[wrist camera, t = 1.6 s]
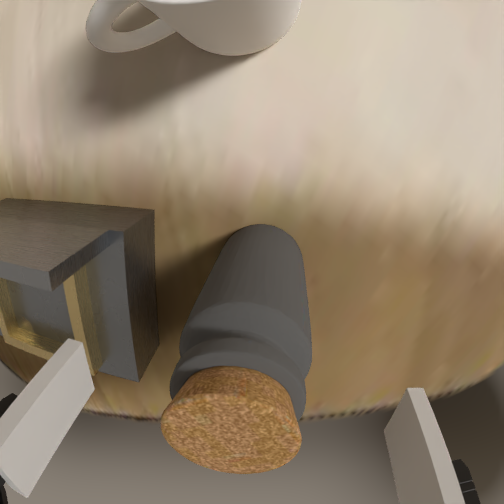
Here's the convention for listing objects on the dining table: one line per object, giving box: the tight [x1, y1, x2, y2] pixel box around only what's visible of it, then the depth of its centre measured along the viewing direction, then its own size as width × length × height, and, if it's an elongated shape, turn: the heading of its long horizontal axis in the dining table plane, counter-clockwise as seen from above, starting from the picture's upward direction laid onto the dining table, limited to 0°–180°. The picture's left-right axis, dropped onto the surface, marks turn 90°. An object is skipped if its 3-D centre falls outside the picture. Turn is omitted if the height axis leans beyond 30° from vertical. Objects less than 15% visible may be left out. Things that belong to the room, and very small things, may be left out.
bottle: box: [161, 224, 312, 474], centre depth 16 cm, size 6×6×15 cm
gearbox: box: [0, 198, 159, 382], centre depth 20 cm, size 12×19×11 cm, turn 84°
